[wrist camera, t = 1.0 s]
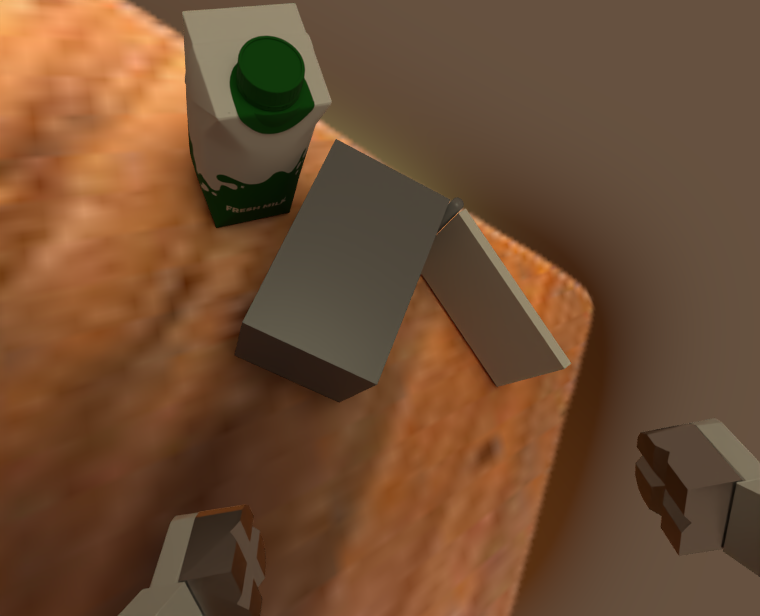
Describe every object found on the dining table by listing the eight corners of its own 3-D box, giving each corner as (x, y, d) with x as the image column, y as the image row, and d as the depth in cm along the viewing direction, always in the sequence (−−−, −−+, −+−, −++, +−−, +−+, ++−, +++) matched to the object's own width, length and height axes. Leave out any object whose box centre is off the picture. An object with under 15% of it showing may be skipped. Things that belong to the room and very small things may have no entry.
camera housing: (344, 404, 50) (383, 387, 38) (234, 355, 48) (242, 322, 37) (412, 237, 56) (463, 182, 45) (317, 189, 54) (346, 119, 43)
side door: (505, 380, 54) (575, 360, 44) (495, 387, 54) (564, 369, 43) (414, 244, 55) (461, 194, 45) (404, 250, 55) (449, 200, 44)
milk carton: (208, 239, 50) (209, 108, 31) (181, 150, 51) (165, -26, 33) (301, 219, 53) (352, 88, 34) (273, 135, 54) (306, -34, 36)
